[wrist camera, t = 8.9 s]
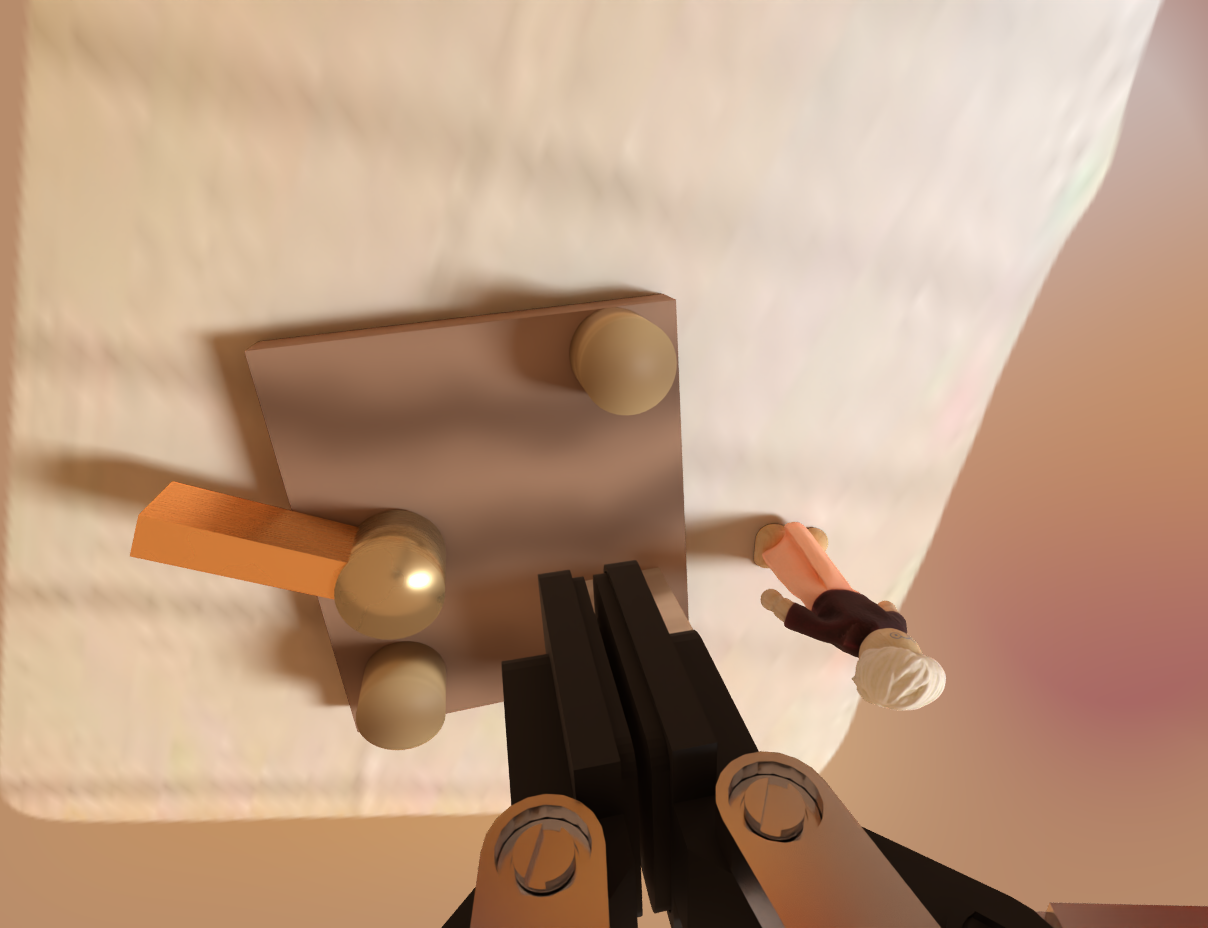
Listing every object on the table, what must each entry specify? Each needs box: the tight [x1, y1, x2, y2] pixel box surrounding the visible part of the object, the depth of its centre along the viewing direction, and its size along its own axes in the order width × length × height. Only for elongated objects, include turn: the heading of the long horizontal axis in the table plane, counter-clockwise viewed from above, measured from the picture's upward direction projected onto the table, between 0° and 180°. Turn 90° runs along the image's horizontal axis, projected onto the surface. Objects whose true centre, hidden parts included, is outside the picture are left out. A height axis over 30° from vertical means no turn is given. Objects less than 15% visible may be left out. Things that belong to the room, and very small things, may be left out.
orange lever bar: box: [130, 481, 446, 640], centre depth 28 cm, size 12×4×4 cm, turn 68°
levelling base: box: [244, 294, 693, 750], centre depth 29 cm, size 20×18×10 cm
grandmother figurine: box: [754, 522, 946, 711], centre depth 32 cm, size 8×4×13 cm, turn 87°
